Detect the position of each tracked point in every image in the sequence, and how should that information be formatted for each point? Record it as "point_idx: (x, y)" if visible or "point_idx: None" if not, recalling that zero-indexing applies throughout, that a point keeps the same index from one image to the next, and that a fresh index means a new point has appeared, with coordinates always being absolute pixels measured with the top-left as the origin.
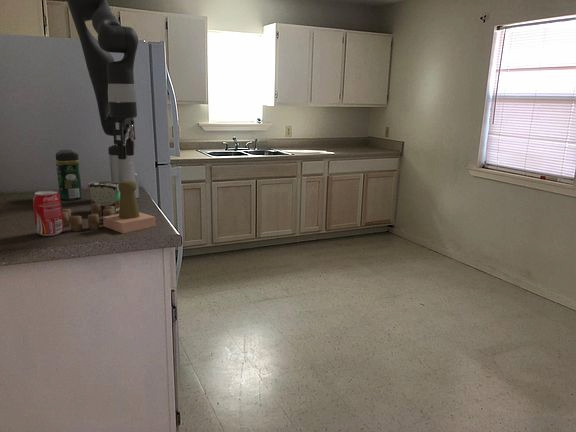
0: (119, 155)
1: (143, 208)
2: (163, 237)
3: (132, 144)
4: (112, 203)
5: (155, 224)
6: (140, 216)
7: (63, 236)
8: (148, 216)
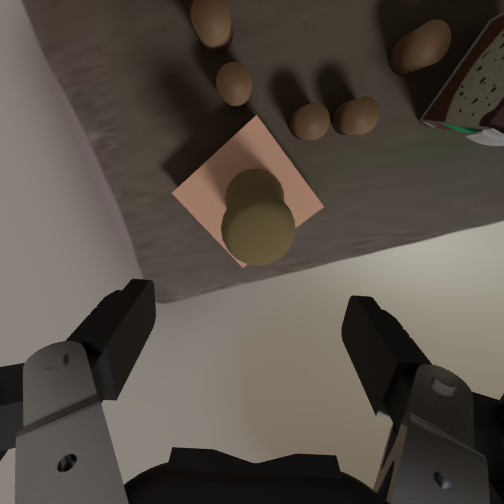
0: (103, 304)
1: (464, 199)
2: None
3: (371, 403)
4: (450, 108)
5: None
6: None
7: (142, 5)
8: None
